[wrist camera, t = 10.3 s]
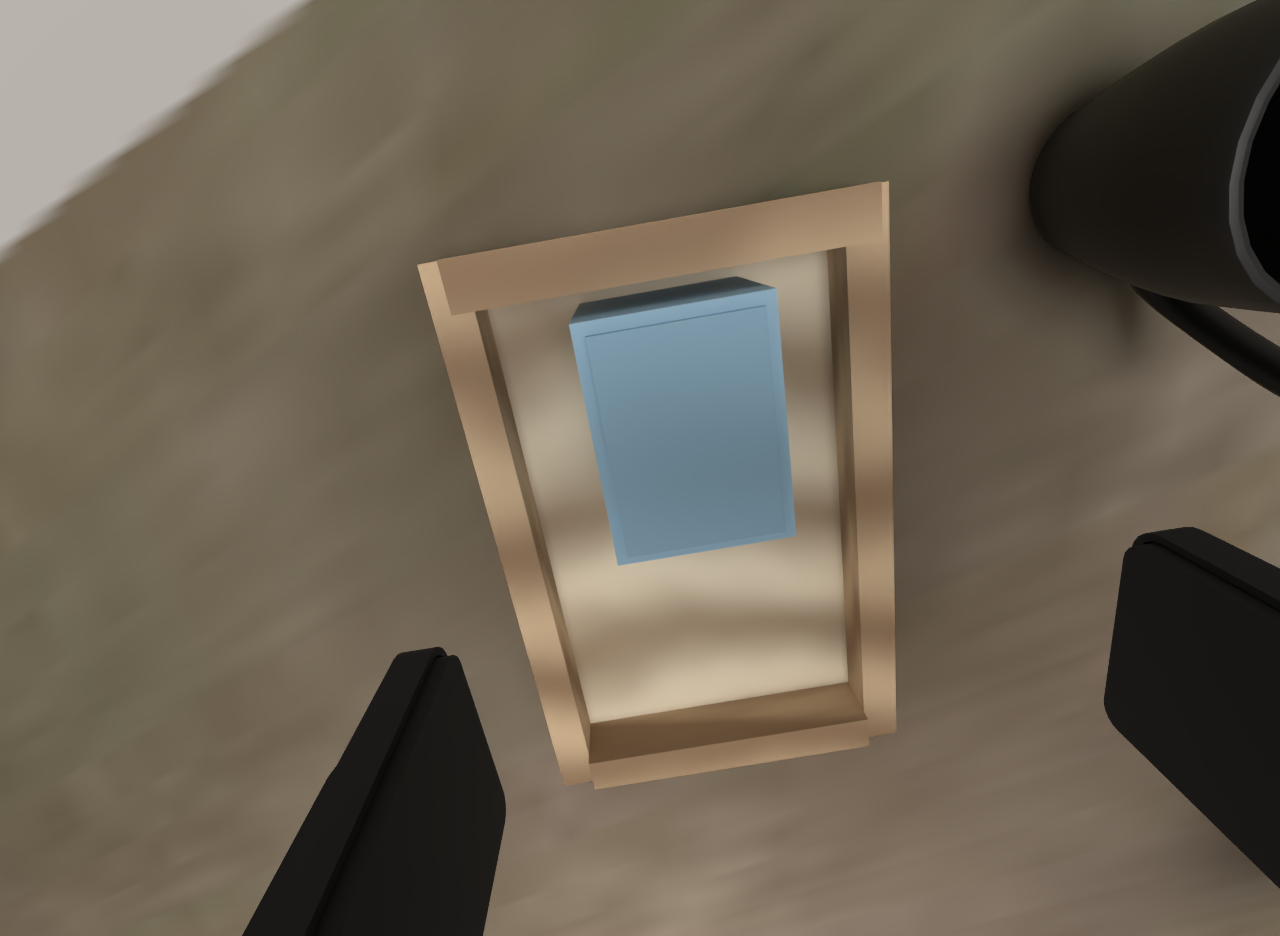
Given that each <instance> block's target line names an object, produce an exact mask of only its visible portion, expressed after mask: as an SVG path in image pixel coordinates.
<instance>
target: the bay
mask: <svg viewBox="0 0 1280 936" xmlns="http://www.w3.org/2000/svg"><path fill="white" fill-rule="evenodd" d="M417 266H418V270H419V273H420V277H421V280H422V284H423V287H424V291H425V294H426V298H427V301H428V305H429V308H430V312H431V315H432V319H433V322H434V326H435V330H436V333H437V337H438V340H439V344H440V347H441V351H442V354H443V358H444V361H445V365H446V368H447V372H448V375H449V379H450V382H451V386H452V389H453V393H454V397H455V400H456V404H457V407H458V411H459V414H460V418H461V421H462V425H463V428H464V432H465V435H466V439H467V442H468V446H469V449H470V453H471V457H472V460H473V464H474V467H475V471H476V474H477V478H478V481H479V485H480V488H481V492H482V495H483V499H484V502H485V506H486V509H487V513H488V517H489V520H490V524H491V527H492V531H493V534H494V538H495V541H496V545H497V548H498V552H499V555H500V559H501V562H502V566H503V569H504V573H505V576H506V580H507V584H508V587H509V591H510V594H511V598H512V601H513V605H514V608H515V612H516V615H517V619H518V622H519V626H520V629H521V633H522V636H523V640H524V644H525V647H526V651H527V654H528V658H529V661H530V665H531V668H532V672H533V675H534V679H535V682H536V686H537V689H538V693H539V696H540V700H541V704H542V707H543V711H544V714H545V718H546V721H547V725H548V728H549V732H550V735H551V739H552V742H553V746H554V749H555V753H556V756H557V760H558V763H559V767H560V771H561V774H562V778H563V781H564V785H571V784H577V783H583V782H590V781H593V783H594V787H595V789H601V788H608V787H614V786H620V785H626V784H633V783H639V782H645V781H652V780H658V779H664V778H670V777H677V776H683V775H689V774H696V773H702V772H708V771H714V770H721V769H727V768H733V767H740V766H746V765H752V764H758V763H765V762H771V761H777V760H784V759H790V758H796V757H803V756H809V755H815V754H821V753H828V752H834V751H840V750H847V749H853V748H859V747H865V746H869V737H872V736H878V735H885V734H891V733H896V673H895V599H894V526H893V453H892V380H891V307H890V234H889V181H888V182H882V181H879V182H874V183H868V184H862V185H857V186H851V187H846V188H840V189H834V190H829V191H823V192H817V193H812V194H806V195H800V196H795V197H789V198H783V199H778V200H772V201H767V202H761V203H755V204H750V205H744V206H738V207H733V208H727V209H721V210H716V211H710V212H704V213H699V214H693V215H687V216H682V217H676V218H671V219H665V220H659V221H654V222H648V223H642V224H637V225H631V226H625V227H620V228H614V229H608V230H603V231H597V232H591V233H586V234H580V235H575V236H569V237H563V238H558V239H552V240H546V241H541V242H535V243H529V244H524V245H518V246H512V247H507V248H501V249H495V250H490V251H484V252H479V253H473V254H467V255H462V256H456V257H450V258H445V259H439V260H436V262H430V263H425V264H419V265H417ZM734 276H738V277H741V278H744V279H748V280H751V281H754V282H758V283H761V284H764V285H768V286H771V287H774V288H777V298H778V310H779V323H780V336H781V348H782V361H783V373H784V386H785V399H786V411H787V424H788V437H789V449H790V462H791V474H792V487H793V500H794V512H795V525H796V536H794V537H788V538H782V539H776V540H770V541H764V542H758V543H752V544H746V545H740V546H734V547H728V548H722V549H716V550H710V551H704V552H698V553H692V554H686V555H680V556H674V557H668V558H662V559H656V560H650V561H644V562H638V563H632V564H626V565H620V566H618V564H617V559H616V554H615V549H614V544H613V539H612V534H611V529H610V524H609V520H608V515H607V510H606V505H605V500H604V495H603V490H602V485H601V480H600V475H599V470H598V466H597V461H596V456H595V451H594V446H593V441H592V436H591V431H590V426H589V421H588V417H587V412H586V407H585V402H584V397H583V392H582V387H581V382H580V377H579V372H578V367H577V363H576V358H575V353H574V348H573V343H572V338H571V333H570V328H569V323H570V321H571V319H572V317H573V315H574V313H575V311H576V309H577V308H578V306H579V304H580V303H585V302H591V301H597V300H602V299H608V298H614V297H620V296H625V295H631V294H637V293H642V292H648V291H654V290H660V289H665V288H671V287H677V286H682V285H688V284H694V283H700V282H705V281H711V280H717V279H722V278H728V277H734Z"/></svg>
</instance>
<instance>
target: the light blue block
mask: <svg viewBox="0 0 1280 936" xmlns="http://www.w3.org/2000/svg"><path fill="white" fill-rule="evenodd" d="M569 328H570V333H571V338H572V343H573V348H574V353H575V358H576V363H577V367H578V372H579V377H580V382H581V387H582V392H583V397H584V402H585V407H586V412H587V417H588V421H589V426H590V431H591V436H592V441H593V446H594V451H595V456H596V461H597V466H598V470H599V475H600V480H601V485H602V490H603V495H604V500H605V505H606V510H607V515H608V520H609V524H610V529H611V534H612V539H613V544H614V549H615V554H616V559H617V564H618V566H620V565H626V564H632V563H638V562H644V561H650V560H656V559H662V558H668V557H674V556H680V555H686V554H692V553H698V552H704V551H710V550H716V549H722V548H728V547H734V546H740V545H746V544H752V543H758V542H764V541H770V540H776V539H782V538H788V537H794V536H796V525H795V512H794V500H793V487H792V474H791V462H790V449H789V437H788V424H787V411H786V399H785V386H784V373H783V361H782V348H781V336H780V323H779V310H778V298H777V288H774V287H771V286H768V285H764V284H761V283H758V282H754V281H751V280H748V279H744V278H741V277H738V276H734V277H728V278H722V279H717V280H711V281H705V282H700V283H694V284H688V285H682V286H677V287H671V288H665V289H660V290H654V291H648V292H642V293H637V294H631V295H625V296H620V297H614V298H608V299H602V300H597V301H591V302H585V303H580V304H579V306H578V308H577V309H576V311H575V313H574V315H573V317H572V319H571V321H570V323H569Z"/></svg>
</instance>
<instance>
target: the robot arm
mask: <svg viewBox="0 0 1280 936" xmlns="http://www.w3.org/2000/svg"><path fill="white" fill-rule="evenodd" d="M1104 706H1105V710H1106V713H1107V715H1108V718H1109V719H1110V721H1111V723H1112V724H1113V725H1114V727H1115V728H1116V729H1117V730H1118V731H1119V732H1120V733H1121V734H1122V735H1123V736H1124V737H1125V738H1126V739H1127V740H1128V741H1129V742H1130V743H1131V744H1132V745H1133V746H1134V747H1135V748H1136V749H1137V750H1138V751H1139V752H1140V753H1141V754H1142V755H1143V756H1145V757H1146V758H1147V759H1148V760H1149V761H1150V762H1151V763H1152V764H1153V765H1154V766H1155V767H1156V768H1157V769H1158V770H1159V771H1160V772H1161V773H1162V774H1163V775H1164V776H1165V777H1166V778H1167V779H1168V780H1169V781H1170V782H1171V783H1172V784H1173V785H1174V786H1175V787H1176V788H1177V789H1178V790H1179V791H1180V792H1181V793H1182V794H1183V795H1184V796H1185V797H1186V798H1188V799H1189V800H1190V801H1191V802H1192V803H1193V804H1194V805H1195V806H1196V807H1197V808H1198V809H1199V810H1200V811H1201V812H1202V813H1203V814H1204V815H1205V816H1206V817H1207V818H1208V819H1209V820H1210V821H1211V822H1212V823H1213V824H1214V825H1215V826H1216V827H1217V828H1218V829H1219V830H1220V831H1221V832H1222V833H1223V834H1224V835H1225V836H1226V837H1227V838H1228V839H1229V840H1231V841H1232V842H1233V843H1234V844H1235V845H1236V846H1237V847H1238V848H1239V849H1240V850H1241V851H1242V852H1243V853H1244V854H1245V855H1246V856H1247V857H1248V858H1249V859H1250V860H1251V861H1252V862H1253V863H1254V864H1255V865H1256V866H1257V867H1258V868H1259V869H1260V870H1261V871H1262V872H1263V873H1264V874H1265V875H1266V876H1267V877H1268V878H1269V879H1270V880H1271V881H1272V882H1274V883H1275V884H1276V885H1277V886H1278V887H1279V888H1280V568H1278V567H1276V566H1273V565H1271V564H1269V563H1267V562H1265V561H1263V560H1261V559H1259V558H1257V557H1255V556H1253V555H1251V554H1249V553H1247V552H1245V551H1243V550H1241V549H1239V548H1237V547H1235V546H1233V545H1231V544H1229V543H1227V542H1225V541H1223V540H1221V539H1219V538H1217V537H1215V536H1213V535H1211V534H1209V533H1207V532H1205V531H1203V530H1200V529H1197V528H1194V527H1182V528H1176V529H1169V530H1163V531H1157V532H1151V533H1145V534H1142V535H1140V536H1138V537H1137V539H1136V540H1135V541H1134V543H1133V546H1132V547H1130V548H1128V550H1127V551H1126V552H1125V555H1124V558H1123V565H1122V572H1121V579H1120V587H1119V594H1118V601H1117V608H1116V616H1115V623H1114V630H1113V637H1112V645H1111V652H1110V659H1109V666H1108V674H1107V681H1106V688H1105V695H1104ZM505 817H506V803H505V796H504V792H503V789H502V786H501V783H500V780H499V777H498V774H497V771H496V768H495V765H494V762H493V759H492V756H491V753H490V750H489V747H488V743H487V740H486V737H485V734H484V731H483V728H482V725H481V722H480V719H479V716H478V713H477V710H476V707H475V704H474V701H473V698H472V695H471V692H470V689H469V686H468V683H467V680H466V677H465V674H464V671H463V668H462V665H461V662H460V660H459V658H458V657H457V656H455V655H451V656H447V654H446V652H445V651H444V650H443V648H441V647H434V648H428V649H422V650H416V651H409V652H403V653H400V654H398V655H397V656H396V657H395V659H394V660H393V662H392V664H391V666H390V668H389V669H388V671H387V673H386V675H385V677H384V679H383V681H382V682H381V684H380V686H379V688H378V690H377V692H376V694H375V695H374V697H373V699H372V701H371V703H370V705H369V707H368V708H367V710H366V712H365V714H364V716H363V718H362V720H361V722H360V723H359V725H358V727H357V729H356V731H355V733H354V735H353V736H352V738H351V740H350V742H349V744H348V746H347V748H346V749H345V751H344V753H343V755H342V757H341V759H340V761H339V763H338V764H337V766H336V767H335V768H334V770H333V771H332V773H331V774H330V775H329V777H328V778H327V780H326V782H325V784H324V786H323V787H322V789H321V791H320V793H319V795H318V797H317V798H316V800H315V802H314V804H313V806H312V808H311V810H310V811H309V813H308V815H307V817H306V819H305V821H304V822H303V824H302V826H301V828H300V830H299V832H298V834H297V835H296V837H295V839H294V841H293V843H292V845H291V846H290V848H289V850H288V852H287V854H286V856H285V858H284V859H283V861H282V863H281V865H280V867H279V869H278V870H277V872H276V874H275V876H274V878H273V880H272V882H271V883H270V885H269V887H268V889H267V891H266V893H265V894H264V896H263V898H262V900H261V902H260V904H259V905H258V907H257V909H256V911H255V913H254V915H253V917H252V918H251V920H250V922H249V924H248V926H247V928H246V929H245V931H244V933H243V935H242V936H483V932H484V927H485V922H486V917H487V912H488V907H489V901H490V896H491V891H492V886H493V881H494V876H495V871H496V865H497V860H498V855H499V850H500V845H501V840H502V835H503V830H504V824H505Z"/></svg>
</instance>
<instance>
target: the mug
mask: <svg viewBox="0 0 1280 936" xmlns="http://www.w3.org/2000/svg"><path fill="white" fill-rule="evenodd" d="M1030 205H1031V212H1032V216H1033V219H1034V222H1035V224H1036V227H1037V229H1038V230H1039V232H1040V233H1041V235H1042V236H1043V237H1044V239H1045V240H1046V241H1047V242H1048V243H1050V244H1051V245H1052V246H1053V247H1055V248H1056V249H1058V250H1060V251H1063V252H1065V253H1068V254H1070V255H1071V256H1073V257H1075V258H1077V259H1078V260H1080V261H1082V262H1083V263H1085V264H1087V265H1089V266H1091V267H1093V268H1094V269H1096V270H1098V271H1101V272H1103V273H1105V274H1107V275H1110V276H1112V277H1114V278H1117V279H1119V280H1122V281H1124V282H1126V283H1129V284H1130V285H1131V287H1132V288H1133V289H1134V290H1135V291H1136V292H1137V294H1138V295H1139V296H1140V297H1141V298H1142V299H1144V300H1145V301H1146V302H1147V303H1148V304H1149V305H1150V306H1151V307H1153V308H1154V309H1155V310H1156V311H1157V312H1159V313H1160V314H1161V315H1163V316H1164V317H1165V318H1166V319H1168V320H1169V321H1170V322H1172V323H1173V324H1174V325H1176V326H1177V327H1178V328H1180V329H1181V330H1182V331H1184V332H1185V333H1187V334H1188V335H1189V336H1191V337H1192V338H1193V339H1195V340H1196V341H1197V342H1199V343H1200V344H1202V345H1203V346H1204V347H1206V348H1207V349H1209V350H1210V351H1211V352H1213V353H1214V354H1216V355H1217V356H1218V357H1220V358H1221V359H1223V360H1224V361H1225V362H1227V363H1228V364H1230V365H1231V366H1232V367H1234V368H1235V369H1237V370H1238V371H1240V372H1241V373H1242V374H1244V375H1245V376H1247V377H1248V378H1250V379H1251V380H1253V381H1254V382H1256V383H1257V384H1259V385H1261V386H1262V387H1264V388H1265V389H1267V390H1269V391H1270V392H1272V393H1274V394H1275V395H1277V396H1279V397H1280V347H1279V346H1277V345H1276V344H1274V343H1272V342H1271V341H1269V340H1267V339H1266V338H1264V337H1263V336H1261V335H1260V334H1258V333H1256V332H1255V331H1253V330H1252V329H1250V328H1249V327H1247V326H1246V325H1244V324H1243V323H1241V322H1240V321H1238V320H1237V319H1235V318H1234V317H1232V316H1231V315H1229V314H1228V313H1226V312H1225V311H1224V310H1222V309H1221V308H1219V307H1218V306H1220V307H1229V308H1237V309H1246V310H1255V311H1264V312H1273V313H1280V0H1256V1H1254V2H1252V3H1250V4H1248V5H1246V6H1244V7H1242V8H1240V9H1237V10H1235V11H1233V12H1231V13H1229V14H1227V15H1225V16H1223V17H1221V18H1219V19H1217V20H1215V21H1213V22H1212V23H1210V24H1208V25H1206V26H1205V27H1203V28H1201V29H1199V30H1198V31H1196V32H1194V33H1192V34H1191V35H1189V36H1187V37H1185V38H1184V39H1182V40H1180V41H1179V42H1177V43H1175V44H1174V45H1172V46H1171V47H1169V48H1168V49H1166V50H1164V51H1163V52H1161V53H1160V54H1158V55H1157V56H1155V57H1153V58H1152V59H1150V60H1149V61H1147V62H1146V63H1144V64H1143V65H1141V66H1139V67H1138V68H1136V69H1135V70H1133V71H1132V72H1130V73H1129V74H1127V75H1126V76H1124V77H1123V78H1122V79H1120V80H1119V81H1117V82H1116V83H1115V84H1113V85H1112V86H1110V87H1109V88H1108V89H1106V90H1105V91H1104V92H1103V93H1101V94H1100V95H1099V96H1097V97H1096V98H1095V99H1093V100H1092V101H1091V102H1089V103H1088V104H1086V105H1085V106H1083V107H1082V108H1080V109H1078V110H1077V111H1075V112H1074V113H1072V114H1071V115H1070V116H1069V117H1068V118H1067V119H1066V120H1065V121H1064V122H1063V123H1062V124H1061V125H1060V126H1059V127H1058V128H1057V129H1056V131H1055V132H1054V133H1053V135H1052V136H1051V137H1050V138H1049V140H1048V141H1047V142H1046V144H1045V146H1044V148H1043V150H1042V152H1041V154H1040V156H1039V158H1038V160H1037V162H1036V165H1035V169H1034V172H1033V175H1032V180H1031V188H1030Z"/></svg>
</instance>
